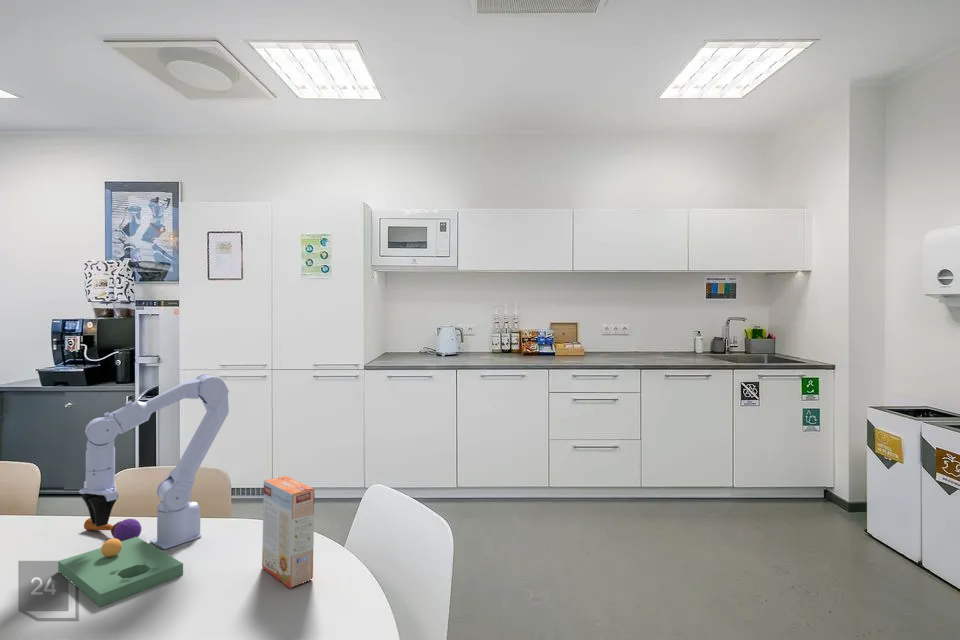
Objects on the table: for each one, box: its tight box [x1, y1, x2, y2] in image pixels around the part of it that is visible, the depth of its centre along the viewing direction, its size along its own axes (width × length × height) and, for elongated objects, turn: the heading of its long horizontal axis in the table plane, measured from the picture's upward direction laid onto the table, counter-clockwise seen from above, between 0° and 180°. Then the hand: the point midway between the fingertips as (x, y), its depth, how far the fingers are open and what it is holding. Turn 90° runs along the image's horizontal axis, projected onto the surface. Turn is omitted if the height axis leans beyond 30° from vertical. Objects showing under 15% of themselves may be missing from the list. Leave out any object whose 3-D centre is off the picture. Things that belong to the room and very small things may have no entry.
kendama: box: [83, 517, 142, 541], centre depth 135 cm, size 6×6×20 cm
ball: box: [100, 537, 122, 557], centre depth 119 cm, size 4×4×4 cm
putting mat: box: [57, 536, 184, 607], centre depth 116 cm, size 16×24×2 cm, turn 56°
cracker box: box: [261, 475, 316, 589], centre depth 117 cm, size 14×6×21 cm, turn 47°
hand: (99, 523), depth 123 cm, fingers closed
